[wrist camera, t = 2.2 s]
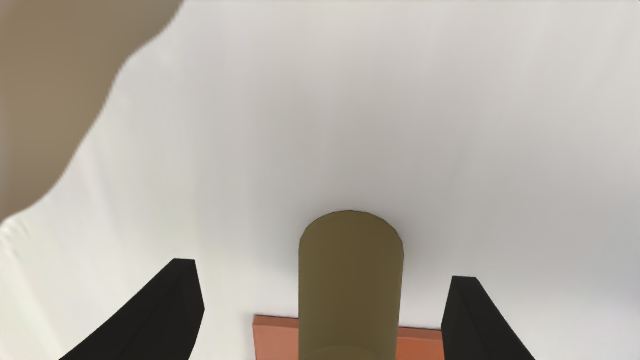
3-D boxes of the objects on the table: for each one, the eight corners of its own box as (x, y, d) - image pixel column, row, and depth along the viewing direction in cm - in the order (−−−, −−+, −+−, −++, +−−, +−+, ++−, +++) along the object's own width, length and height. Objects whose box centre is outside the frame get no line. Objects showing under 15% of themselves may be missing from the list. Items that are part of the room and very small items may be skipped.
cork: (420, 227, 23) (458, 438, 14) (382, 300, 26) (392, 510, 17) (313, 197, 23) (278, 394, 14) (288, 275, 26) (246, 477, 17)
